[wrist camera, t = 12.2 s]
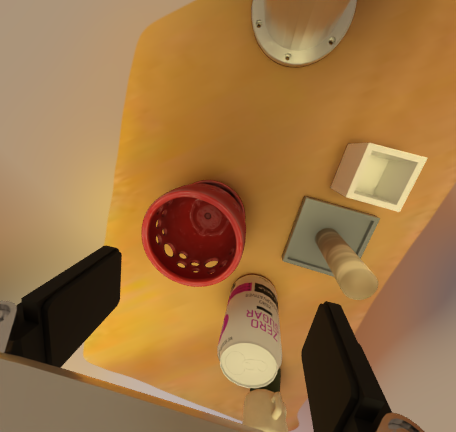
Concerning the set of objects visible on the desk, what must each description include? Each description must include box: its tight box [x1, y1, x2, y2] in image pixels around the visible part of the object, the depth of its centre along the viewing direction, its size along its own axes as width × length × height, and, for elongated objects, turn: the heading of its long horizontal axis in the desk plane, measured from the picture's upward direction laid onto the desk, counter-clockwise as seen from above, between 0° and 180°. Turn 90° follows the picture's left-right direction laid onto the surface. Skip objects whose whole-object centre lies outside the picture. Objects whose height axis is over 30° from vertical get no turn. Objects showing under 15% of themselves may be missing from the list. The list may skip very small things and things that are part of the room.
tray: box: [282, 196, 380, 276], centre depth 37 cm, size 11×11×2 cm
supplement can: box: [218, 275, 282, 388], centre depth 35 cm, size 8×8×15 cm
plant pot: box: [142, 180, 246, 287], centre depth 34 cm, size 13×13×12 cm
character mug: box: [243, 368, 288, 432], centre depth 40 cm, size 11×7×13 cm, turn 157°
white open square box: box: [330, 143, 427, 212], centre depth 30 cm, size 7×7×7 cm
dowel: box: [315, 228, 378, 300], centre depth 30 cm, size 4×4×13 cm
